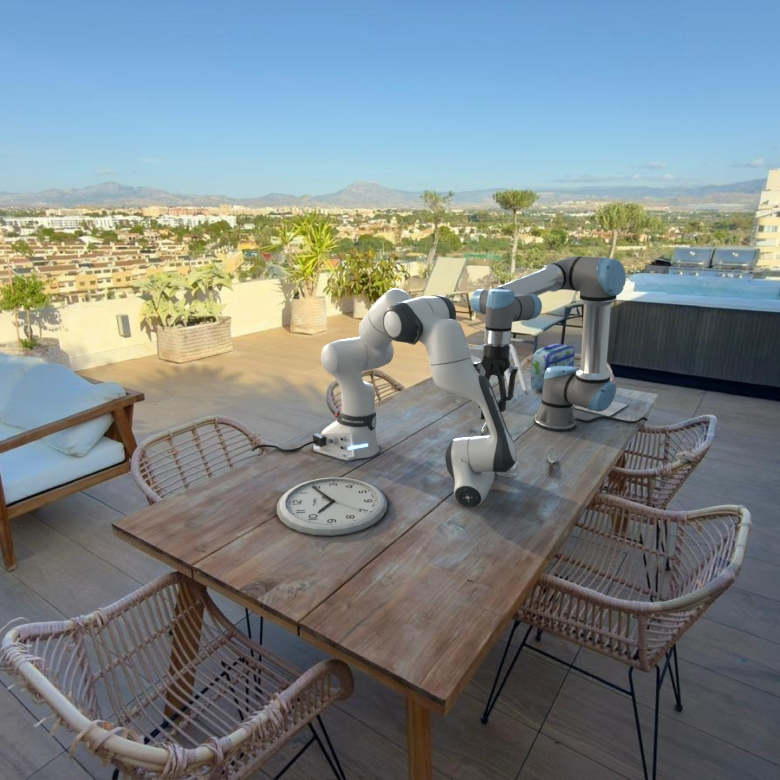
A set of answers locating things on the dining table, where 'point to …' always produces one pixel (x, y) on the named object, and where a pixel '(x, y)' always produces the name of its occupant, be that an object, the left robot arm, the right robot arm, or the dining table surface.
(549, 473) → the fork
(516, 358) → the white plastic object
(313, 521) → the wall clock
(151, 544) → the dining table surface
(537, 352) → the lunch box
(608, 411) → the invitation card
